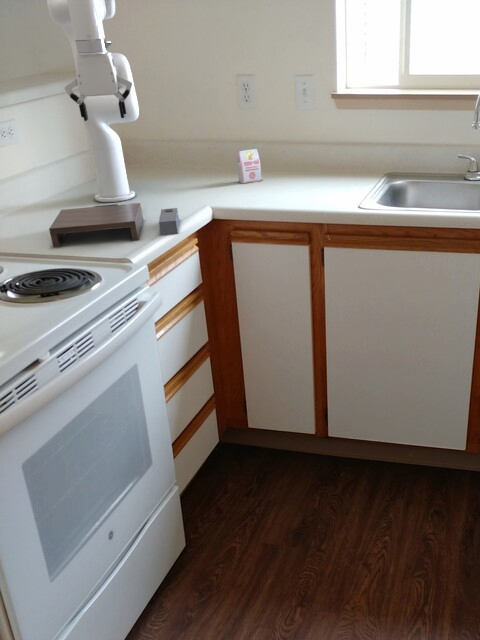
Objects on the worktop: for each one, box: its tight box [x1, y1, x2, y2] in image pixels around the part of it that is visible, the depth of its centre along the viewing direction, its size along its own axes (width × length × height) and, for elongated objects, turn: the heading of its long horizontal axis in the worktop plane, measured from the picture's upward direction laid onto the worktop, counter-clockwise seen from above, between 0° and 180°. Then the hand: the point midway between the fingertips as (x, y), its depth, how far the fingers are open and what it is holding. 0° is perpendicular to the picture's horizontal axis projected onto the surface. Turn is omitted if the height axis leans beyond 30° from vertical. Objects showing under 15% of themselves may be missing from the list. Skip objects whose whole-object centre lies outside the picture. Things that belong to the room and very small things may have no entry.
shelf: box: [48, 202, 144, 248], centre depth 207 cm, size 20×22×5 cm
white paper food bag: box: [236, 148, 262, 185], centre depth 252 cm, size 4×7×10 cm, turn 116°
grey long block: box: [158, 207, 180, 236], centre depth 209 cm, size 14×4×4 cm, turn 8°
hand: (104, 118), depth 203 cm, fingers open, 9 cm apart
